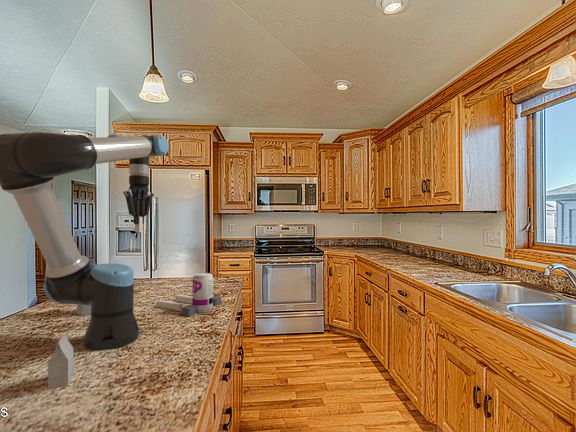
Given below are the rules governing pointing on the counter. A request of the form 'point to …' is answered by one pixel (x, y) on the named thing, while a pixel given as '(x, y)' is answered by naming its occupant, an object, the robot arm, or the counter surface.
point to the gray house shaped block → (61, 364)
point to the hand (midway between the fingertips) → (138, 232)
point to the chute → (185, 310)
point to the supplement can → (202, 292)
